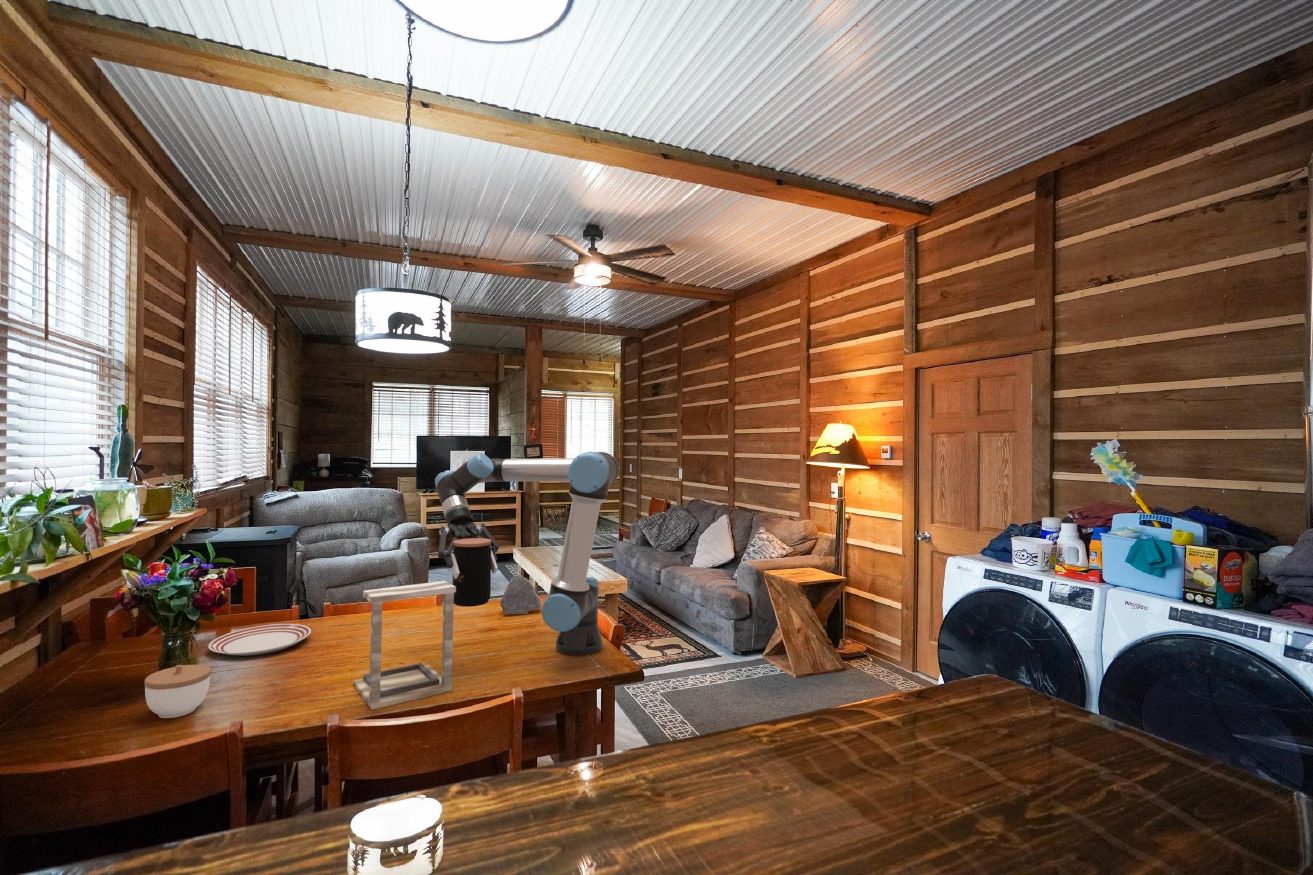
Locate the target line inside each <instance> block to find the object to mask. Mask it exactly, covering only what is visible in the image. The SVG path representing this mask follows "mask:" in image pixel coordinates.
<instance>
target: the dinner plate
mask: <svg viewBox="0 0 1313 875" xmlns="http://www.w3.org/2000/svg"><path fill="white" fill-rule="evenodd" d="M311 633H312V629H311V628H310V627H308V626H307V625H303V624H299V623H298V624H297V623H295V624H294V623H276V624H275V623H274V624H266V625H259V626H252V627H247V628H243V629H239V630H235V631H232V632H229V633H225V634H224V635H221V636H218V637H217V638H215V639H213V640H211V641H210V643H208V645H207V648H208V649H209V651H211V652H213V653H216V654H217V653H218V654H221V655H222V654H223V655H228V656H229V655H230V656H240V657H241V656H242V657H247V656H248V657H249V656H258V655H266V654H271V653H276V652H279V651H282V650H286V649H287V648H289V647H291V646H293V645H296V644H298V643H300V642H301V641H303V640H305V639H306V638H307V637H309V635H310V634H311Z"/></svg>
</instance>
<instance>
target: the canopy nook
mask: <svg viewBox="0 0 1313 875" xmlns="http://www.w3.org/2000/svg"><path fill="white" fill-rule="evenodd" d="M454 592H456V586H454V585H453V583H451V582H448V581H446V580H441V581H438V580H437V581H433V582H423V583H422V582H421V583H416V584H415V583H413V584H406V585H401V586H400V585H399V586H398V585H397V586H391V587H382V588H375V589H368V590H367V589H366V590H363V592H362V597H363V598H364V599H365V600H366V601H368V602H369V603H370V604H371V610H370V611H371V615H370V618H371V619H370V620H371V621H370V624H371V625H370V648H369V649H370V655H369V657H370V658H369V673H365V674H363V675H362V676H363V677H362V678H360V679H355V680H353V686H354V688H355V689H356V691H357V692H358V693H359V695H360V697H362V699H363V700H364V702H365V703H366V704H367V706H368V707H369V708H370V710H372V711H373V710H377V709H381V708H384V707H385V708H386V707H390V706H393V705H397V704H402V703H405V702H406V703H407V702H411V701H414V700H419V699H422V698H427V697H431V696H435V695H440V694H444V693H448V692H453V685H452V683H453V682H452V679H453V647H454V646H453V638H454V636H453V635H454V605H455V603H454ZM438 595H443V607H442V609H443V611H442V616H443V617H442V620H443V621H442V644H441V646H442V649H441V650H442V651H441V652H442V655H441V656H442V657H441V674H440V673H438V672H437V671H436V670H435V669H434V668H433V667H431V665H430V664H428V665H424V664H423V663H422V662H419V663H414V664H408V665H403V666H399V667H394V668H390V669H385V670H381V668H382V632H383V628H382V627H383V625H382V624H383V603H387V602H393V601H400V600H408V599H415V598H417V599H418V598H425V597H431V596H438Z"/></svg>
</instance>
